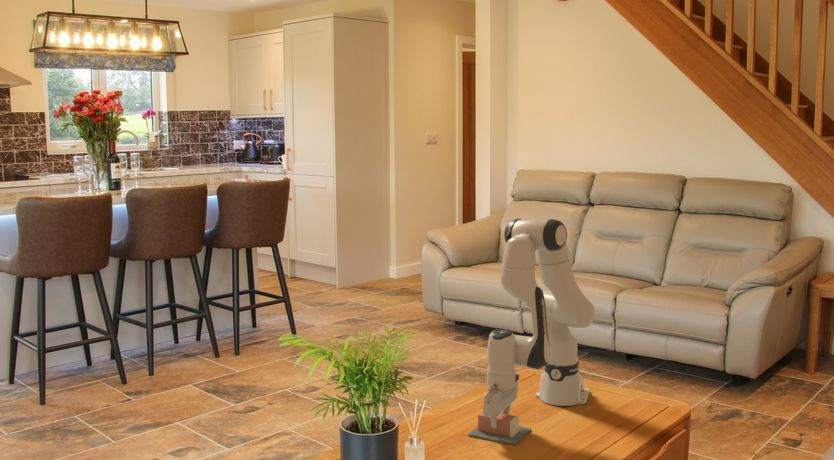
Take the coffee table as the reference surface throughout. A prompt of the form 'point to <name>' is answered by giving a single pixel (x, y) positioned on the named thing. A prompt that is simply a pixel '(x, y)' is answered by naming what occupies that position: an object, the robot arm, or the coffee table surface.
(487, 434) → the slate mat
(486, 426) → the tall block
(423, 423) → the coffee table surface
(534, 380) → the coffee table surface
